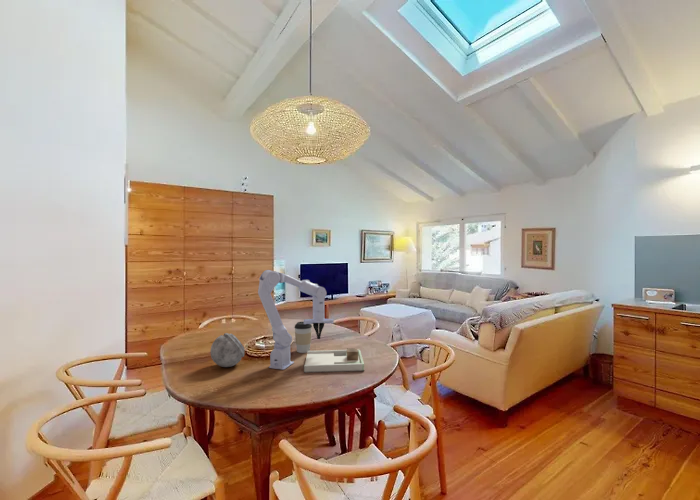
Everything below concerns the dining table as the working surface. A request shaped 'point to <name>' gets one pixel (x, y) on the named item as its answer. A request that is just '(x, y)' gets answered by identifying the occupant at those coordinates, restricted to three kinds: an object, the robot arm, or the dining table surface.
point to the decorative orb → (227, 350)
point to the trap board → (332, 361)
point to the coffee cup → (303, 337)
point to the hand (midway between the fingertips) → (318, 338)
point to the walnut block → (352, 354)
